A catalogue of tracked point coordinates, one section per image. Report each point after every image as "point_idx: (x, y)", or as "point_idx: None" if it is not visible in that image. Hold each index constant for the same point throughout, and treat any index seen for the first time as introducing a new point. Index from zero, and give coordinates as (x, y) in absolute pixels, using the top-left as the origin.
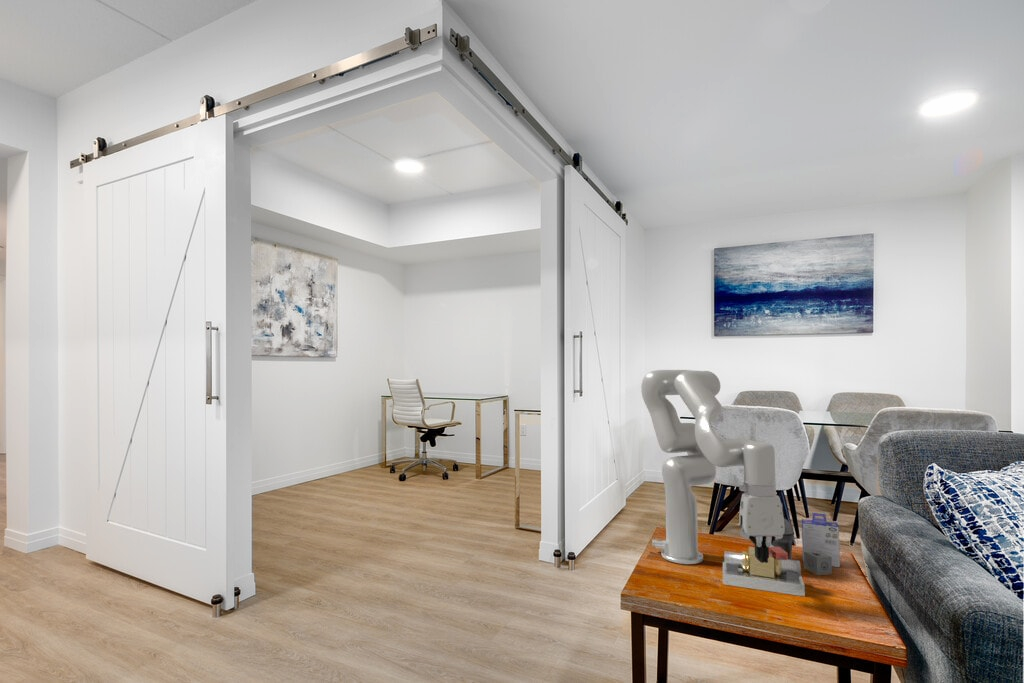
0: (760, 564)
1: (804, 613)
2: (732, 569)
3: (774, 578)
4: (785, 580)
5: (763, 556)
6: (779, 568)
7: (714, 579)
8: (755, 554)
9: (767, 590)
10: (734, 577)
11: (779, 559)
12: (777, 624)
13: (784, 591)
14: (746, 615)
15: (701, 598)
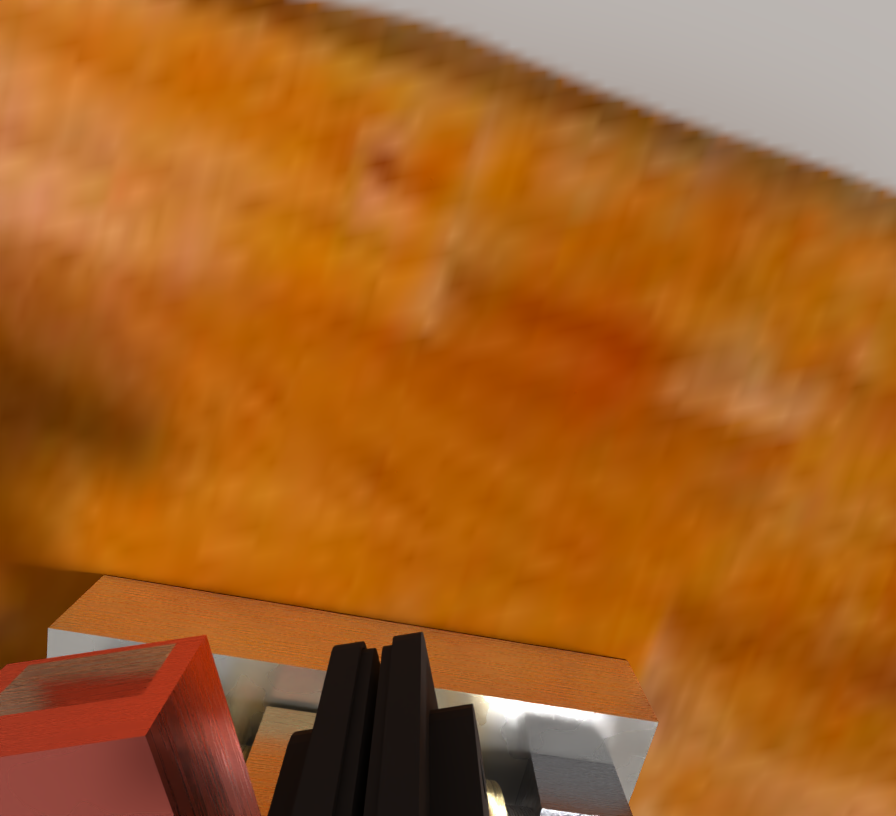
0: None
1: (167, 299)
2: (575, 776)
3: (267, 703)
4: None
5: (389, 700)
6: None
7: (660, 721)
8: (483, 782)
9: (345, 616)
10: (568, 693)
11: (140, 650)
12: (423, 58)
13: (230, 605)
14: (618, 180)
15: (859, 411)
